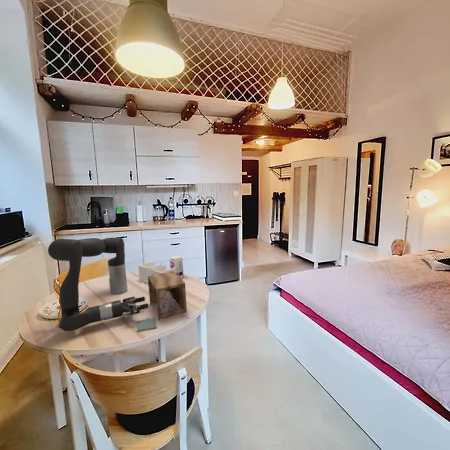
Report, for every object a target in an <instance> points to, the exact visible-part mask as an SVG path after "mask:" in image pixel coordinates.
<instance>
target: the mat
mask: <svg viewBox="0 0 450 450" xmlns="http://www.w3.org/2000/svg"><path fill="white" fill-rule="evenodd" d="M156 319H157V318H156V317H153V318H148V319H142V320H137V321H136V332H137V333H139V332H144V331H148V330H156V329H157V328H158V327H157V320H156Z"/></svg>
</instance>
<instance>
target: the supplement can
mask: <svg viewBox="0 0 450 450" xmlns="http://www.w3.org/2000/svg"><path fill="white" fill-rule="evenodd" d="M183 259H184V258H183V257H182V256H181V255H172V256H171V257H170V259H169V264H170V265H169V266H170V267H169V268H170V269H173V268H176V274H177V275H178V276H179V277H180V278H181V279H182V280H183V279H184V263H183Z"/></svg>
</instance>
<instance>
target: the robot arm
mask: <svg viewBox="0 0 450 450" xmlns="http://www.w3.org/2000/svg"><path fill="white" fill-rule="evenodd" d="M47 248H48V249H47V253H48V255H49V256H50V258H51V259H53V260H55V261H63V262H68V264H69V268H68V272H67V275H65V278H64V279H63V281H62V282H61V284H60V287H59V306H60V308H61V309H60V310H61V317H60V322H59V327H60V328H61V330H63V331H64V332H73V331H76V330H79V329H81V328H84V327H86V326H87V325H90V324H94V323H97V322H102V321H108V320H112V319H116V318H117V319H118V318H121V317H122V316H123V315H124V313H125V316H126V317H128V316H133V315H137V314H140V312H141V311H142V310H146V309H148V308H149V304H148V303H144V302H145V301H146V298H145V296H139V297H135V296H130V297H127V298H123V299H122V300H121V299H120V300H119V299H118V300H114V301H109V302H106V303H102V304H98V305H95V306H90V307H87V308H86V309H85V311H83V312H80V306H79V301H80V297H79V293H80V291H79V281H80V275H81V274H80V273H81V267H82V260H83V259H82V258H83V257H84V258H88V257H89V258H92V257H97V256H101V255H102V254H103V253H104V254H115V257H112V258H110V259H108V260H107V268H108V276H109V278H108V283H109V290H110V291H109V293H110V295H122V294H124V293H127V292H128V281H127V271H126V261H125V260H126V254H125V253H126V251H125V240H124V239H123V238H122V237H106V238H102V239H101V238H97V237H90V238H89V237H88V238H80V239H75V238H57V239H55V240H53V241H52V242H50V244H49V246H48V247H47ZM137 303H142V304H140V305H138V304H137ZM143 303H144V304H143Z"/></svg>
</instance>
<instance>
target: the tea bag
mask: <svg viewBox="0 0 450 450" xmlns="http://www.w3.org/2000/svg"><path fill="white" fill-rule="evenodd" d="M159 297H160V310H163V311H166V312H169V311H173V310H175V309H174V307H175V306H174V299H173V297H172V295H171V293H170V291H166V290H162V291H160V293H159Z"/></svg>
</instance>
